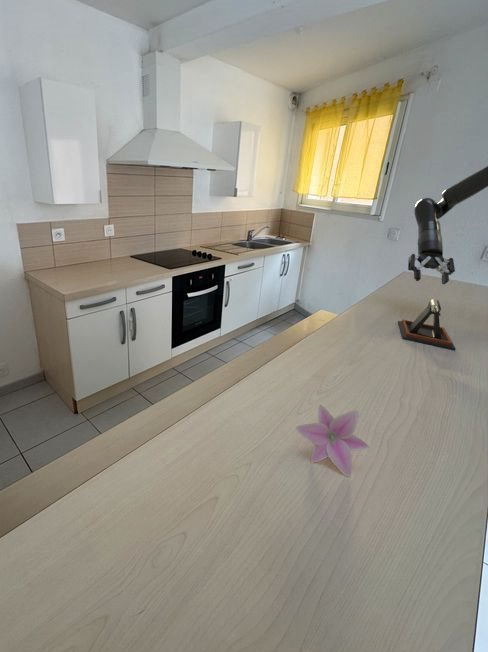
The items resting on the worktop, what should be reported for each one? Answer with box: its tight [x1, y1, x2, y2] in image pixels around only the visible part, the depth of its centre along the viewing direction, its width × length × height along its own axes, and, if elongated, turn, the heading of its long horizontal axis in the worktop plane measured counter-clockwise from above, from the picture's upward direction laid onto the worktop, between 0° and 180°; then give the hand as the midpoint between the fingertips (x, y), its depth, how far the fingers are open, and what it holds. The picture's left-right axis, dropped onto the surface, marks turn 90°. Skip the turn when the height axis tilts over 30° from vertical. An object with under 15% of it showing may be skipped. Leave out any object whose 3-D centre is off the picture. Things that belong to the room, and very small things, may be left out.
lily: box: [295, 404, 370, 478], centre depth 63 cm, size 12×12×10 cm
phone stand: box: [410, 299, 442, 340], centre depth 113 cm, size 9×6×12 cm, turn 58°
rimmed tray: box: [397, 319, 456, 351], centre depth 115 cm, size 15×15×2 cm
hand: (431, 281), depth 118 cm, fingers open, 8 cm apart
